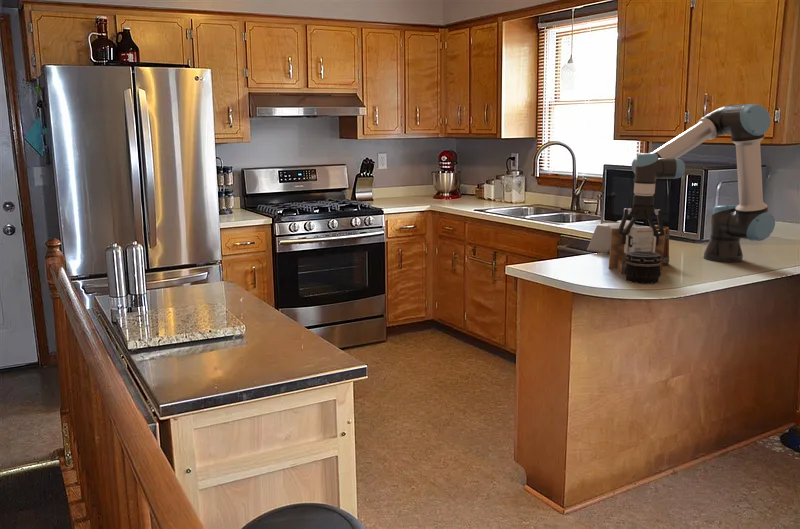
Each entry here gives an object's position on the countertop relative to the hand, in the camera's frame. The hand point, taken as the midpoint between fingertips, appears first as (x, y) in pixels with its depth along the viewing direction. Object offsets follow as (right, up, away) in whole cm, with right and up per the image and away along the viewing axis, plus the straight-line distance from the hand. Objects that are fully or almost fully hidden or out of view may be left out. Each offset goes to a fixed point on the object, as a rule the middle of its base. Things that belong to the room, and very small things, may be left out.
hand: (639, 253), depth 273 cm
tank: (+6, +2, +49) cm, 50 cm away
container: (-4, -10, -14) cm, 18 cm away
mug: (+13, -4, +22) cm, 26 cm away
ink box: (0, -2, 0) cm, 2 cm away
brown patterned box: (0, -7, +2) cm, 7 cm away
